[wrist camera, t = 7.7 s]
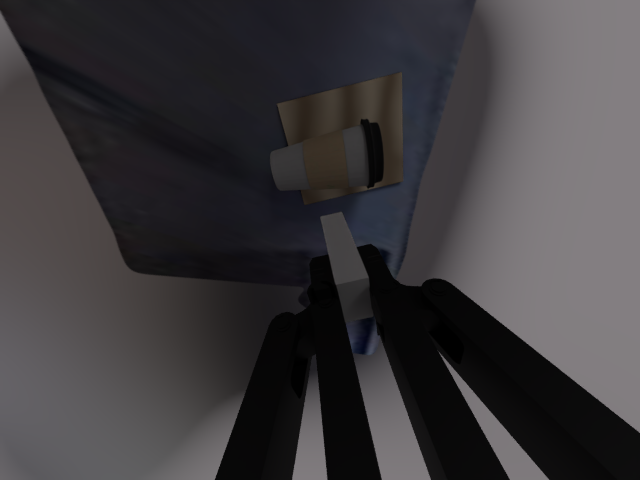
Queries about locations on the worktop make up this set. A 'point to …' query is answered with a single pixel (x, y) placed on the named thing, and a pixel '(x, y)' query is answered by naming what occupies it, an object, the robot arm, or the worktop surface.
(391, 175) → the brown striped mat
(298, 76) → the worktop surface
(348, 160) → the coffee cup
